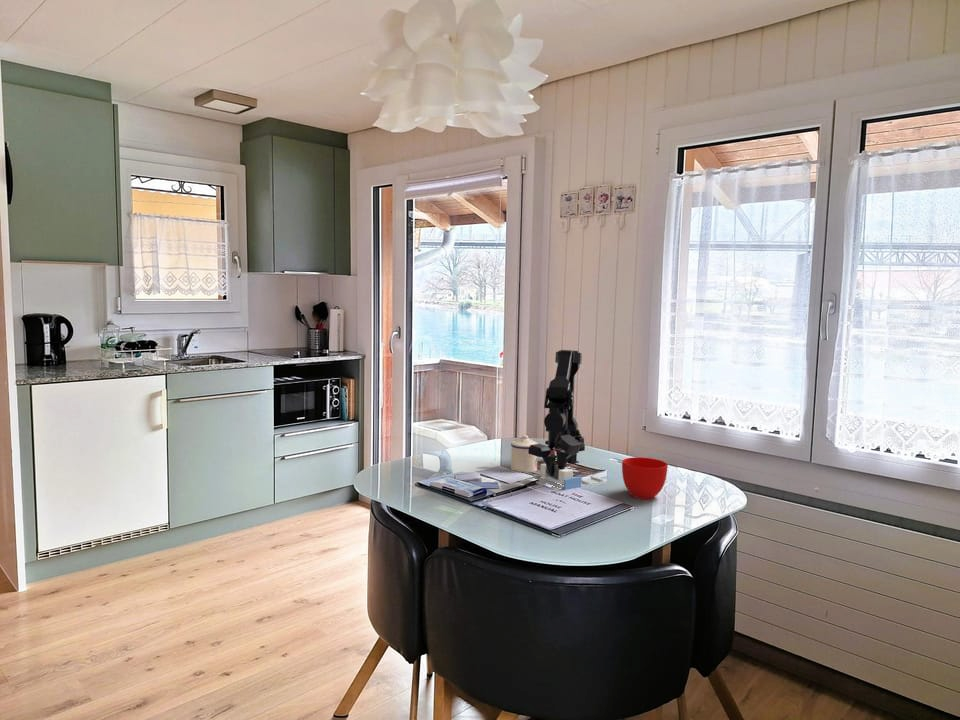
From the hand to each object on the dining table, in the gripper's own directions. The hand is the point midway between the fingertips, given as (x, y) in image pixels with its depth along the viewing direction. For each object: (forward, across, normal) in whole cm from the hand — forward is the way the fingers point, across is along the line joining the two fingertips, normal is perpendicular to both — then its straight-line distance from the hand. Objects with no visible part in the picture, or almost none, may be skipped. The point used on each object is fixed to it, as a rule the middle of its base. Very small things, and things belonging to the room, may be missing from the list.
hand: (556, 475), depth 210 cm
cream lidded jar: (+3, +2, +19) cm, 19 cm away
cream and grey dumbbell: (+1, 0, 0) cm, 1 cm away
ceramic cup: (+3, +15, -22) cm, 27 cm away
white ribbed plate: (+3, +5, 0) cm, 6 cm away
